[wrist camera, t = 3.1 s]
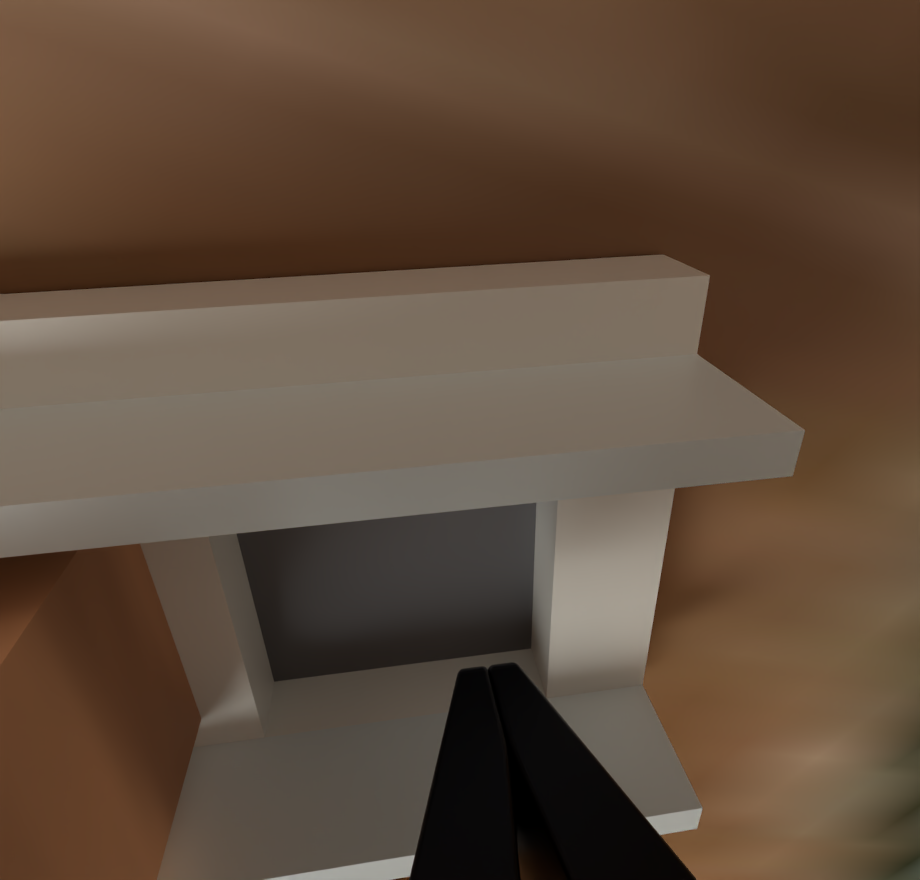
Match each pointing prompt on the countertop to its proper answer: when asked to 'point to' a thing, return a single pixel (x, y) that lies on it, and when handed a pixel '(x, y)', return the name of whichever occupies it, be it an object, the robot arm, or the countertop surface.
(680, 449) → the channel
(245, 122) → the countertop surface
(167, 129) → the countertop surface
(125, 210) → the countertop surface
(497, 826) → the robot arm
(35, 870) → the block
